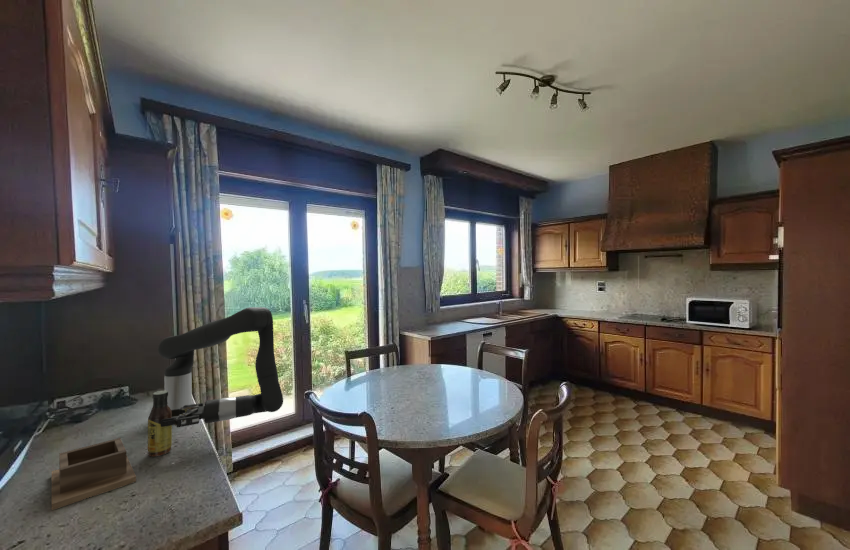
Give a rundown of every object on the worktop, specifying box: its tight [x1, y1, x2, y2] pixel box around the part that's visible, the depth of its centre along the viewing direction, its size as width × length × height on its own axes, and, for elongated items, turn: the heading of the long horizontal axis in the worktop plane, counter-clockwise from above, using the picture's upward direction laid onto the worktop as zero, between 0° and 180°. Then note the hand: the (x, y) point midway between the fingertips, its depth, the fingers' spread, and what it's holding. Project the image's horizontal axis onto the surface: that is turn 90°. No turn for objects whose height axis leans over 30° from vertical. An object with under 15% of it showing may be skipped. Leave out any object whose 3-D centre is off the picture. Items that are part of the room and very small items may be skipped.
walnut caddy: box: [51, 437, 137, 511], centre depth 98 cm, size 22×16×8 cm
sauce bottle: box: [147, 389, 173, 458], centre depth 113 cm, size 6×6×20 cm
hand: (163, 418), depth 113 cm, fingers open, 8 cm apart
